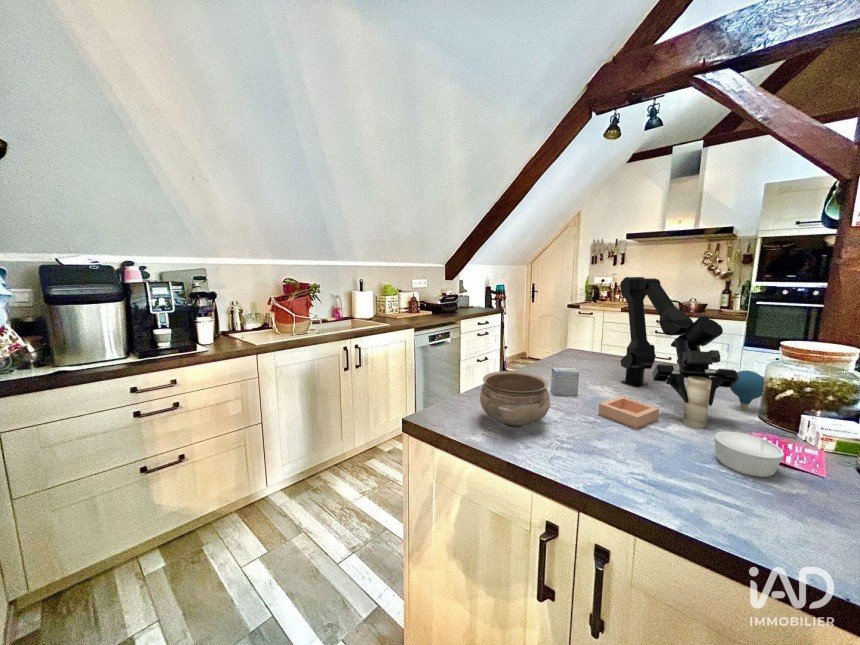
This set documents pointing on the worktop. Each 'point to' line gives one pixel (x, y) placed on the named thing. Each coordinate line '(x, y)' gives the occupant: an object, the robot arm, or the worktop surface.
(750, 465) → the ramekin
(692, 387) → the vase
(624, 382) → the robot arm
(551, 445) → the worktop surface
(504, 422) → the cooking pot
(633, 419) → the tray
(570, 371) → the medicine box
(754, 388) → the light bulb
